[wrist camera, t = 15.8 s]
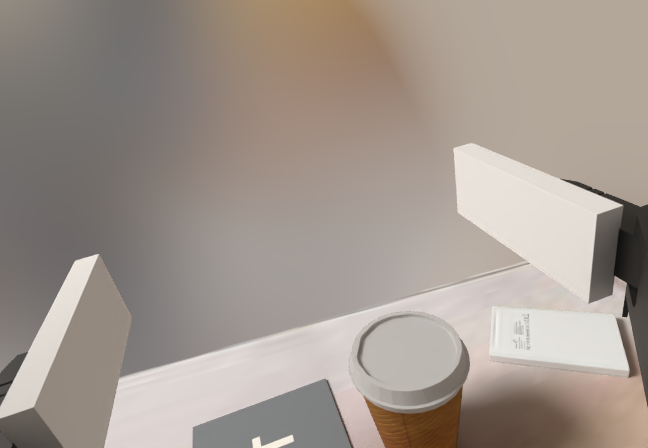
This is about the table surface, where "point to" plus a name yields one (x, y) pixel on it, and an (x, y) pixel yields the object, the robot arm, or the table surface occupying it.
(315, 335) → the table surface
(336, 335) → the table surface
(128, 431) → the table surface
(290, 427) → the tile
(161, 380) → the table surface
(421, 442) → the disposable coffee cup
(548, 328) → the external hard drive
